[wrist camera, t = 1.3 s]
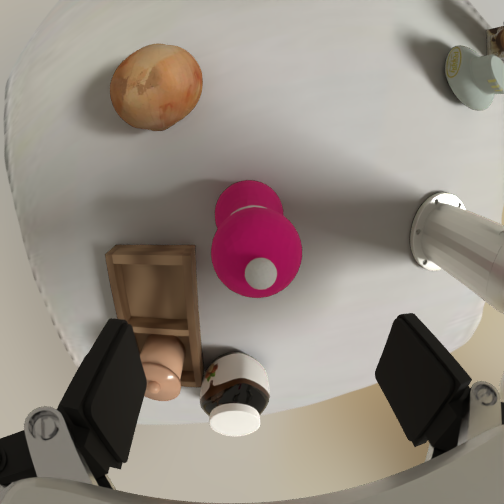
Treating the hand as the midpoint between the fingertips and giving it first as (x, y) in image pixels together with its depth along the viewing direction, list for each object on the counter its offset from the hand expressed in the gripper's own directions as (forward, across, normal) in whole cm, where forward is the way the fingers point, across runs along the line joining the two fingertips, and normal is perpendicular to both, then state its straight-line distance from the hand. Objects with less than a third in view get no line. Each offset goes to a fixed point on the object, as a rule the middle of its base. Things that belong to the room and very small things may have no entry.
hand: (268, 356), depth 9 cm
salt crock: (+25, +11, +21) cm, 35 cm away
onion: (+26, +9, -14) cm, 31 cm away
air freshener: (+26, -34, -24) cm, 49 cm away
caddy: (+26, +11, +16) cm, 33 cm away
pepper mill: (+26, -1, 0) cm, 26 cm away
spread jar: (+26, 0, +28) cm, 38 cm away
